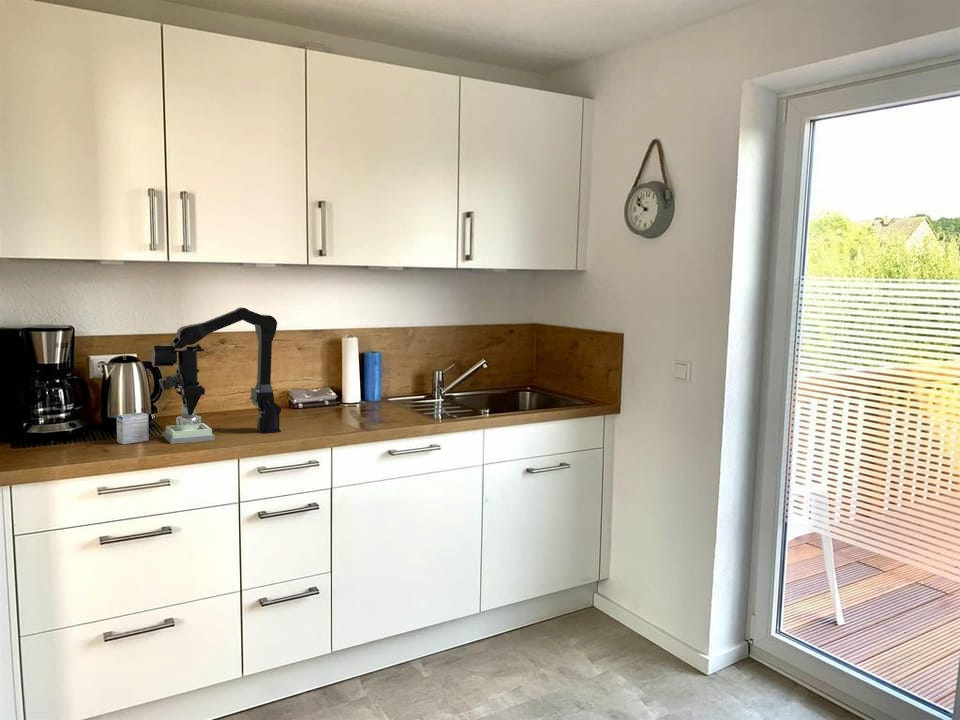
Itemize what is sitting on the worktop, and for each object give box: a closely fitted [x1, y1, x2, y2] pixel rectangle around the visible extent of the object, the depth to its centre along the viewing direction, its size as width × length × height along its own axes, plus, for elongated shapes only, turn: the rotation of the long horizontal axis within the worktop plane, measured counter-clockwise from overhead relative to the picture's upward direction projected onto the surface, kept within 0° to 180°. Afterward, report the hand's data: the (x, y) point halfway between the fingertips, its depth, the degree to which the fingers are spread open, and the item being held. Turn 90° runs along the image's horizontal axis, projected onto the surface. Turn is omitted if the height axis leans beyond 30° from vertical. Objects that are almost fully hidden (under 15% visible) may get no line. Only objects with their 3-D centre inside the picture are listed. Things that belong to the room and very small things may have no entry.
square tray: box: [162, 422, 216, 445], centre depth 226 cm, size 13×13×4 cm
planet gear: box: [175, 403, 202, 425], centre depth 226 cm, size 7×7×6 cm
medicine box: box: [116, 412, 149, 445], centre depth 219 cm, size 8×4×9 cm, turn 141°
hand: (188, 414), depth 226 cm, fingers closed on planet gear, 4 cm apart
